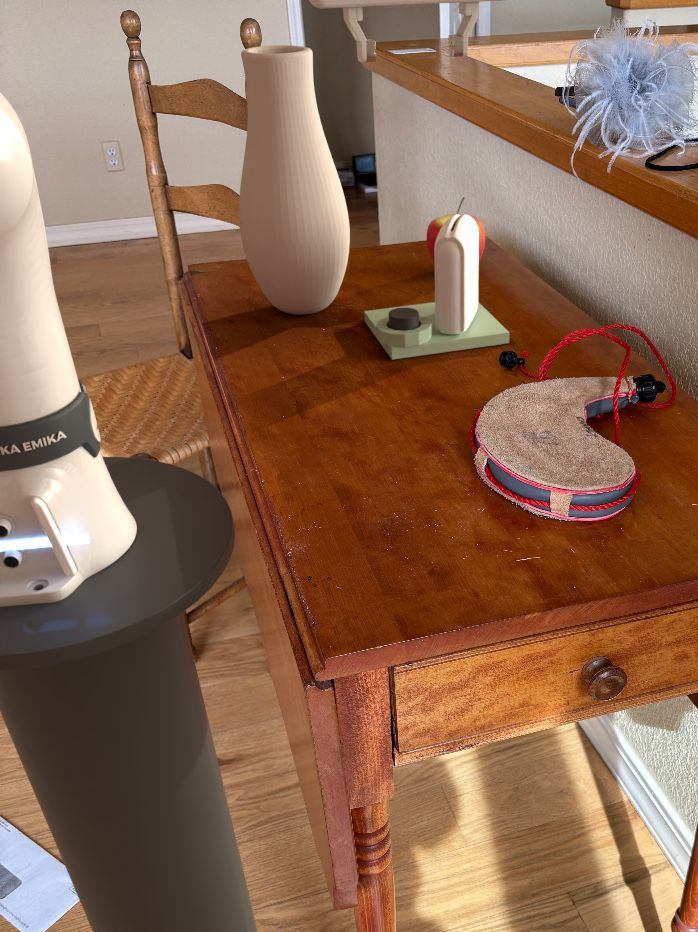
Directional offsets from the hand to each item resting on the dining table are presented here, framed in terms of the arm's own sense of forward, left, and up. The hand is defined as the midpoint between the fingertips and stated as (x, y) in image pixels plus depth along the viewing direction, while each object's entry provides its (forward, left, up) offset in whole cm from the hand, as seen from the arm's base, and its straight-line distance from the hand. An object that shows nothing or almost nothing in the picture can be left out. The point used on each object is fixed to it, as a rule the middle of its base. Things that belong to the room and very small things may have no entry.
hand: (413, 58), depth 92 cm
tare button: (-1, +4, -29) cm, 29 cm away
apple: (+14, +28, -31) cm, 44 cm away
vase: (-10, +21, -31) cm, 39 cm away
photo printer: (+7, +6, -30) cm, 31 cm away
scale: (+4, +7, -31) cm, 32 cm away
